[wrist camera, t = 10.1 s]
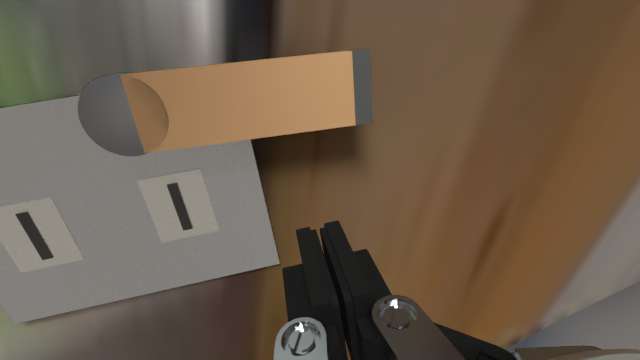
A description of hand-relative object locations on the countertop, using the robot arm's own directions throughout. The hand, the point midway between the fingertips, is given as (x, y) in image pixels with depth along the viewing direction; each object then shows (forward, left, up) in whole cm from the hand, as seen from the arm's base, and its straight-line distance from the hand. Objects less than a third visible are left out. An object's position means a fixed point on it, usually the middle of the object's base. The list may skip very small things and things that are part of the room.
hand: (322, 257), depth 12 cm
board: (+3, -15, -17) cm, 23 cm away
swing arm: (-5, -3, -14) cm, 15 cm away
